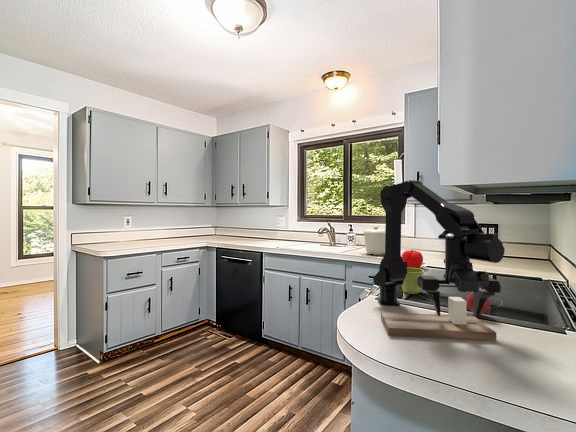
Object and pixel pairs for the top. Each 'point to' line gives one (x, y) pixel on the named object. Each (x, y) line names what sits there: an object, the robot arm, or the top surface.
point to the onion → (471, 304)
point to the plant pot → (412, 281)
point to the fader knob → (457, 310)
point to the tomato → (412, 258)
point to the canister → (375, 241)
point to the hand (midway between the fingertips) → (457, 316)
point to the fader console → (435, 327)
